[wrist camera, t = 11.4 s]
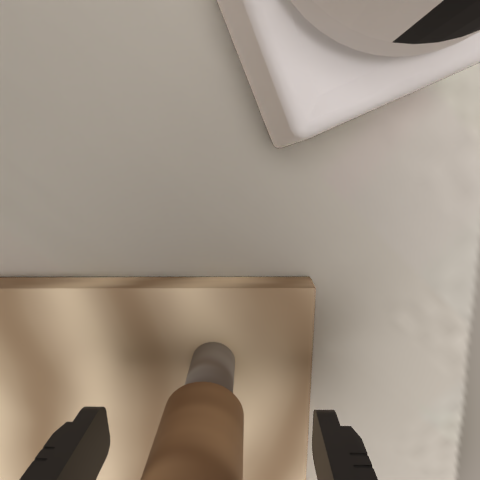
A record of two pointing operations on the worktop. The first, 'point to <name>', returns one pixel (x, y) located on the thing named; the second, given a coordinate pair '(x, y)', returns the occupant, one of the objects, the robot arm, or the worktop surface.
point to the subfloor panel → (153, 362)
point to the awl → (201, 423)
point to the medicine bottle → (345, 55)
